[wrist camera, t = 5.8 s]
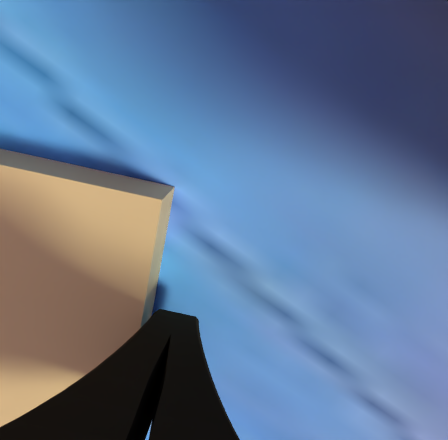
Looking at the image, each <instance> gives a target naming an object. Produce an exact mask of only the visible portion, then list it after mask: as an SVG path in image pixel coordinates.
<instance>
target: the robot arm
mask: <svg viewBox="0 0 448 440" xmlns="http://www.w3.org/2000/svg"><path fill="white" fill-rule="evenodd" d="M151 421H152V425H151V431H150V437H149V440H240V439H239V438H238V436H237V434H236V432H235V430H234V428H233V426H232V424H231V422H230V420H229V418H228V416H227V414H226V412H225V409H224V407H223V405H222V402H221V400H220V398H219V395H218V393H217V390H216V388H215V385H214V382H213V380H212V377H211V374H210V371H209V368H208V364H207V361H206V358H205V354H204V351H203V347H202V342H201V338H200V332H199V321H198V319H197V318H196V317H194V316H190V315H185V314H181V313H176V312H171V311H167V310H162V309H159V310H157V311H155V312H154V314H153V315H152V316H151V317H150V318H149V320H148V321H147V322H146V323H145V324H144V325H143V326H142V327H141V328H140V329H139V330H138V331H137V332H136V333H135V334H134V335H133V336H132V337H131V338H130V339H129V340H127V341H126V342H125V343H124V344H123V345H122V346H121V347H120V348H119V349H118V350H116V351H115V352H114V353H113V354H111V355H110V356H109V357H108V358H107V359H105V360H104V361H103V362H102V363H100V364H99V365H98V366H97V367H95V368H94V369H93V370H91V371H90V372H89V373H87V374H86V375H85V376H83V377H82V378H81V379H79V380H78V381H76V382H75V383H73V384H72V385H70V386H69V387H67V388H66V389H64V390H63V391H61V392H60V393H58V394H57V395H55V396H53V397H52V398H50V399H49V400H47V401H45V402H44V403H42V404H40V405H39V406H37V407H36V408H34V409H32V410H30V411H29V412H27V413H25V414H24V415H22V416H20V417H18V418H16V419H15V420H13V421H11V422H9V423H7V424H5V425H3V426H1V427H0V440H145V438H146V435H147V433H148V430H149V427H150V424H151Z"/></svg>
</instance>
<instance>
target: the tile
mask: <svg viewBox="0 0 448 440" xmlns="http://www.w3.org/2000/svg"><path fill="white" fill-rule="evenodd" d="M174 188H175V187H173V186H169V185H164V184H159V183H155V182H150V181H146V180H141V179H137V178H132V177H128V176H123V175H119V174H114V173H109V172H105V171H100V170H96V169H91V168H87V167H82V166H78V165H73V164H68V163H64V162H59V161H55V160H50V159H46V158H41V157H37V156H32V155H28V154H23V153H18V152H14V151H9V150H5V149H0V427H1V426H3V425H5V424H7V423H9V422H11V421H13V420H15V419H16V418H18V417H20V416H22V415H24V414H25V413H27V412H29V411H30V410H32V409H34V408H36V407H37V406H39V405H40V404H42V403H44V402H45V401H47V400H49V399H50V398H52V397H53V396H55V395H57V394H58V393H60V392H61V391H63V390H64V389H66V388H67V387H69V386H70V385H72V384H73V383H75V382H76V381H78V380H79V379H81V378H82V377H83V376H85V375H86V374H87V373H89V372H90V371H91V370H93V369H94V368H95V367H97V366H98V365H99V364H100V363H102V362H103V361H104V360H105V359H107V358H108V357H109V356H110V355H111V354H113V353H114V352H115V351H116V350H118V349H119V348H120V347H121V346H122V345H123V344H124V343H125V342H126V341H127V340H129V339H130V338H131V337H132V336H133V335H134V334H135V333H136V332H137V331H138V330H139V329H140V328H141V327H142V326H143V325H144V324H145V323H146V322H147V321H148V320H149V318H150V317H151V316H152V311H153V305H154V300H155V294H156V288H157V283H158V277H159V272H160V266H161V261H162V255H163V249H164V244H165V238H166V233H167V227H168V221H169V216H170V210H171V205H172V199H173V193H174Z"/></svg>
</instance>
